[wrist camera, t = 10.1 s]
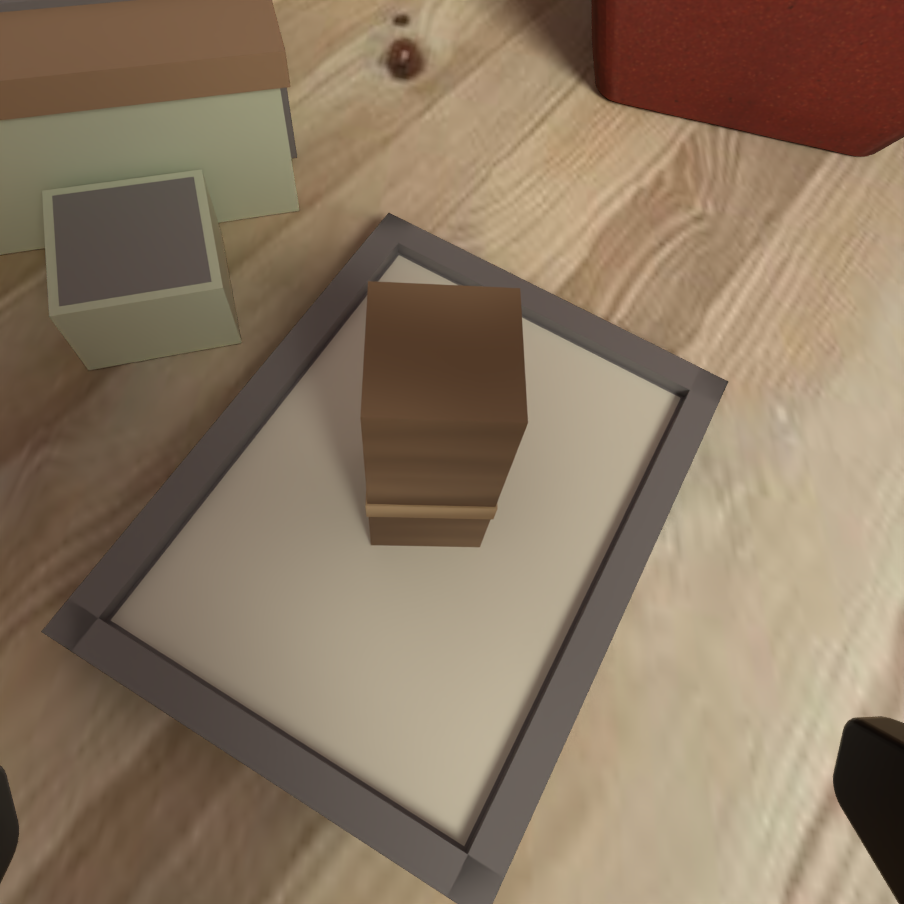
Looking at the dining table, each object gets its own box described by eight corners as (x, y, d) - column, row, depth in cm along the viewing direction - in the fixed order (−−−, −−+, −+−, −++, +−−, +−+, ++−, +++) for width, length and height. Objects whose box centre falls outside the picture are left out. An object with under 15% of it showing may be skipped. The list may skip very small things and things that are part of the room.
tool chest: (339, 325, 25) (322, 171, 19) (-21, 390, 23) (-179, 240, 16) (251, -22, 32) (218, -214, 26) (-24, 1, 30) (-132, -202, 24)
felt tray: (709, 403, 25) (728, 381, 23) (477, 910, 18) (484, 921, 16) (388, 241, 27) (388, 212, 25) (65, 641, 20) (41, 631, 18)
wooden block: (481, 548, 21) (530, 425, 13) (368, 546, 20) (358, 419, 13) (479, 447, 22) (522, 286, 15) (373, 444, 22) (365, 279, 15)
